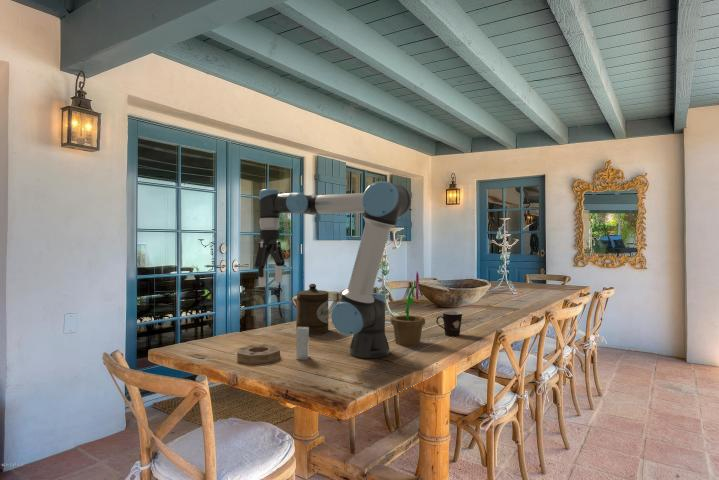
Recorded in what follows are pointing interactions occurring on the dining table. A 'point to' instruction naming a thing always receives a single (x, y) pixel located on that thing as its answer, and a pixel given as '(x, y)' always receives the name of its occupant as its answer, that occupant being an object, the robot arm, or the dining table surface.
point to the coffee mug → (451, 323)
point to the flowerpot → (408, 323)
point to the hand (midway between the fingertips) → (270, 284)
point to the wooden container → (312, 310)
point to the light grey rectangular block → (302, 343)
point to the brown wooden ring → (258, 354)
